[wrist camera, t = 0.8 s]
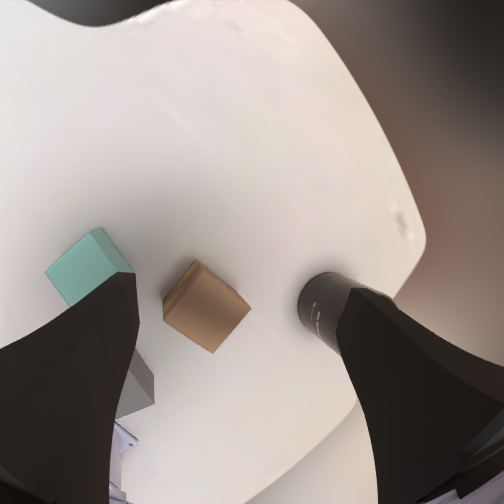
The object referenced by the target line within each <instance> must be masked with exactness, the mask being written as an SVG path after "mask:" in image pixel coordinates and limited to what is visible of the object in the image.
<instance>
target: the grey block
mask: <svg viewBox="0 0 504 504" xmlns="http://www.w3.org/2000/svg"><path fill="white" fill-rule="evenodd" d="M152 404H154V375H153V374H152V372H151V371H150V369H149V368H148V367H147V365H146V364H145V362H144V361H143V359H142V358H141V356H140V355H139V353H138V352H137V350H136V349H135V350H134V353H133V357H132V360H131V363H130V366H129V369H128V373H127V376H126V379H125V382H124V386H123V389H122V392H121V396H120V399H119V403H118V407H117V411H116V416H115V419H118V418H120V417H123V416H125V415H128V414H130V413H133V412H135V411H138V410H140V409H143V408H145V407H148V406H150V405H152Z"/></svg>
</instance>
